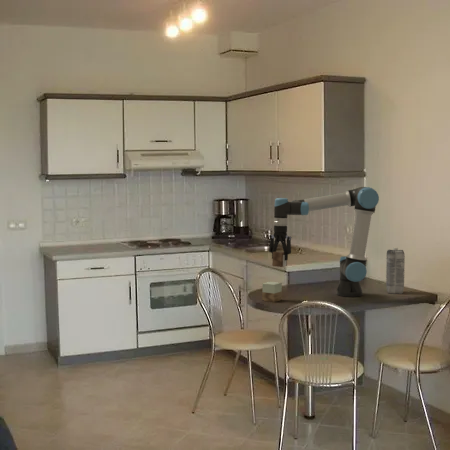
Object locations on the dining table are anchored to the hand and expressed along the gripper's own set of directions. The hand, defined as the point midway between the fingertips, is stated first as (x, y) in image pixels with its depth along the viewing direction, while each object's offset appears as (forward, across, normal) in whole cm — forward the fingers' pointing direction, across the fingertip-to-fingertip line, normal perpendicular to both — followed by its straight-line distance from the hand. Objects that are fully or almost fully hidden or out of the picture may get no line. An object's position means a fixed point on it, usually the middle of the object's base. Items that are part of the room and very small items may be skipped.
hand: (279, 265), depth 408 cm
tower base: (+20, -2, -4) cm, 21 cm away
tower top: (+15, -2, -4) cm, 16 cm away
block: (0, 0, 0) cm, 0 cm away
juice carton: (+18, +44, +60) cm, 77 cm away
